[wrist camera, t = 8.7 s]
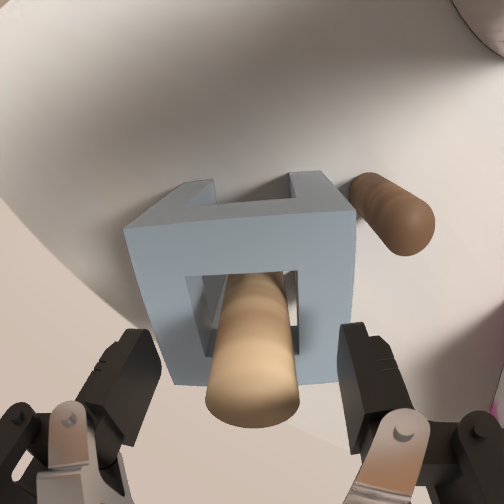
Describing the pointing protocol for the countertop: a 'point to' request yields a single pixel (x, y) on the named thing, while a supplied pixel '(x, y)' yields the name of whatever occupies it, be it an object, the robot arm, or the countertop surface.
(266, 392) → the long pin
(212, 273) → the square frame
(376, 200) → the short pin
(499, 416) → the gum box
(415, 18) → the countertop surface
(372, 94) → the countertop surface
